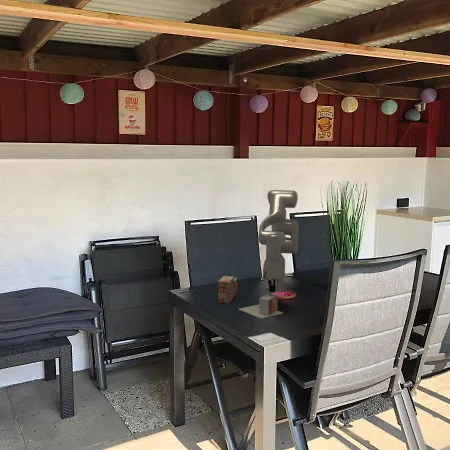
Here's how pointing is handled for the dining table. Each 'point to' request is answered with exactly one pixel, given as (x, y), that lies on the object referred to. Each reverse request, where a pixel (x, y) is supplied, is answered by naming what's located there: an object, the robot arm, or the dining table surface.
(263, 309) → the small box
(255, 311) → the mat
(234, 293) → the stack of blocks
